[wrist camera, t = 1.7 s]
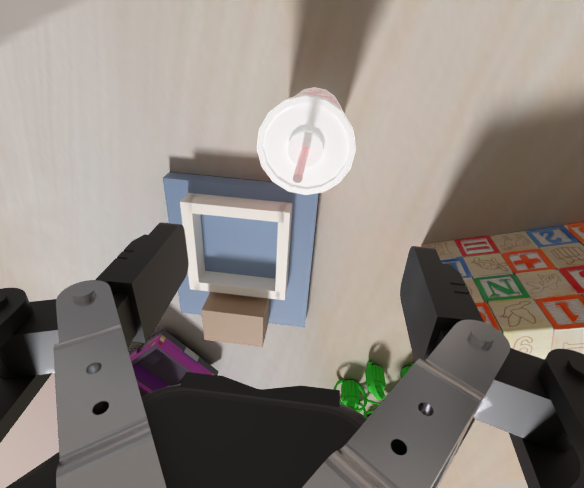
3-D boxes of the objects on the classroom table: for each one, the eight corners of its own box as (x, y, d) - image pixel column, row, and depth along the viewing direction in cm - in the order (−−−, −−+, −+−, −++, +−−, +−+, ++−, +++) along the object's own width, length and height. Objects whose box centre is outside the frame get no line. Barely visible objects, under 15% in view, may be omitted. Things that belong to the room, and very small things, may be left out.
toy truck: (96, 367, 51) (46, 436, 42) (162, 316, 44) (120, 386, 36) (156, 408, 54) (122, 479, 45) (226, 367, 48) (201, 441, 39)
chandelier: (475, 374, 43) (496, 429, 38) (414, 439, 51) (424, 493, 45) (358, 336, 42) (360, 387, 37) (314, 408, 50) (310, 459, 44)
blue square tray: (169, 172, 34) (142, 195, 29) (319, 186, 33) (316, 213, 28) (185, 303, 42) (166, 338, 38) (305, 318, 41) (301, 355, 37)
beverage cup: (293, 63, 28) (258, 92, 16) (365, 95, 29) (383, 145, 17) (267, 137, 31) (223, 207, 19) (332, 164, 32) (329, 248, 20)
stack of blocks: (685, 205, 30) (866, 299, 20) (666, 266, 33) (815, 376, 23) (419, 243, 35) (453, 337, 25) (423, 294, 38) (455, 397, 28)
